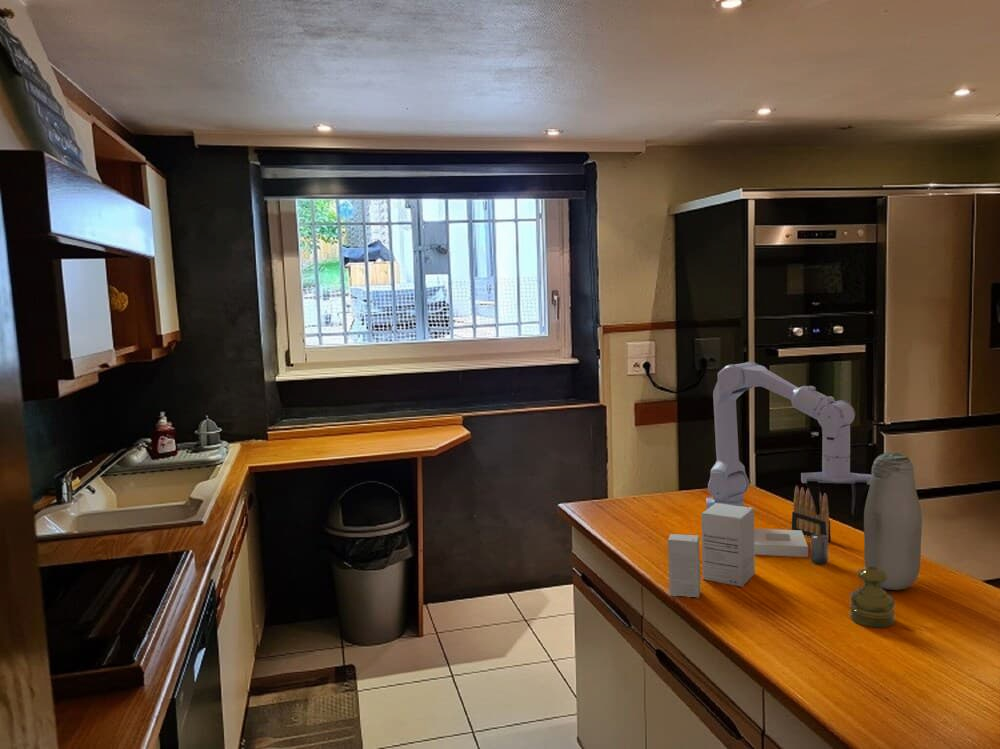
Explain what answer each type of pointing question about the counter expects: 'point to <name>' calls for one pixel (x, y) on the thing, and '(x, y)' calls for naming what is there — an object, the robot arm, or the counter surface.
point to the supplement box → (728, 544)
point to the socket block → (780, 542)
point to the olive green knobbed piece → (872, 600)
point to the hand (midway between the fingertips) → (835, 514)
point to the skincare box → (684, 565)
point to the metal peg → (819, 549)
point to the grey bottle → (893, 521)
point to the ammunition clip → (810, 514)
